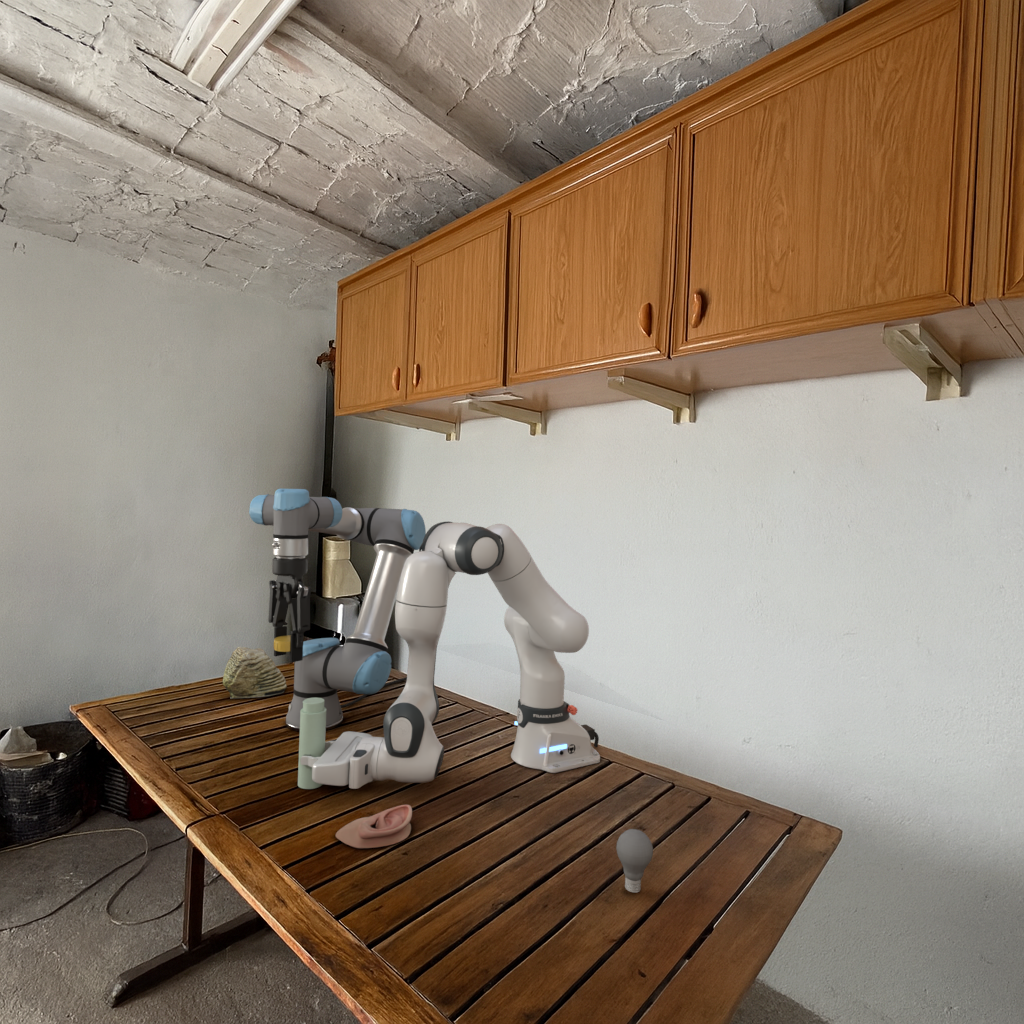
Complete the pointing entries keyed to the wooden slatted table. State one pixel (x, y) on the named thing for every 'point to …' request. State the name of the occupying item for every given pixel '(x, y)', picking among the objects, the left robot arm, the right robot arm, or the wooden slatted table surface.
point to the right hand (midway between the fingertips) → (307, 753)
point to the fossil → (252, 674)
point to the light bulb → (634, 857)
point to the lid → (282, 643)
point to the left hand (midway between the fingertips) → (288, 657)
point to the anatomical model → (378, 828)
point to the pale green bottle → (311, 738)
